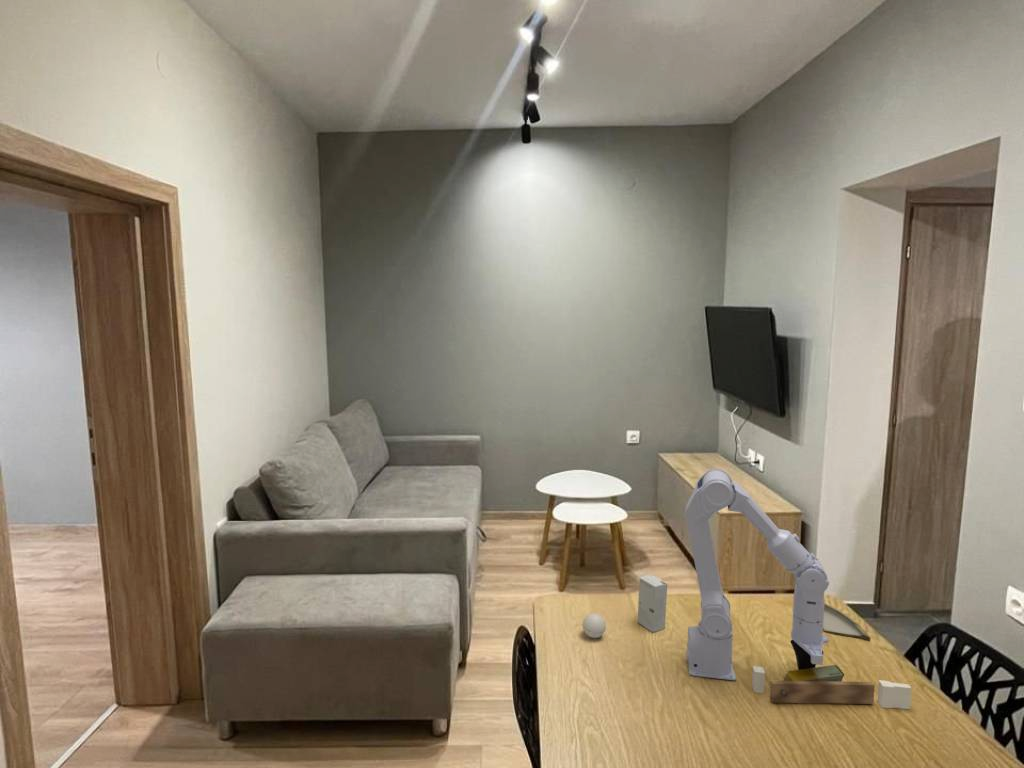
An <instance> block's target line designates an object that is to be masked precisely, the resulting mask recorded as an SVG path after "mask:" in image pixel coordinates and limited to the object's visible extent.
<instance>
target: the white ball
mask: <svg viewBox="0 0 1024 768" xmlns="http://www.w3.org/2000/svg"><path fill="white" fill-rule="evenodd" d="M577 626H579V624H577V625H575V627H577ZM606 628H607V626H606V621H605V619H604V617H603V616H601V614H599V613H596V612H595V613H594V612H593V613H589V614H587V615H586V616H585V617H584V618H583V621H582V629H583V632H584V633H585V635H587V636H588V637H589V638H591V639H598V638H601V636H603V635H604V634H605V631H606Z"/></svg>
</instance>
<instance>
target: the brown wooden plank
mask: <svg viewBox="0 0 1024 768" xmlns="http://www.w3.org/2000/svg"><path fill="white" fill-rule="evenodd" d="M875 686H876V685H875V684H874V683H873V682H872V681H843V680H842V681H784V680H770V691H769V692H770V693H769V700H770V701H771V703H790V704H791V703H797V704H798V703H799V704H800V703H801V704H802V703H803V704H804V703H805V704H855V705H856V704H861V705H862V704H863V705H864V704H866V705H867V704H868V705H869V704H870V705H871V704H872V705H873V704H874V701H875V699H874V697H875Z"/></svg>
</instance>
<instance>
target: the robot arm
mask: <svg viewBox="0 0 1024 768" xmlns="http://www.w3.org/2000/svg"><path fill="white" fill-rule="evenodd" d="M732 481H733V482H732ZM726 507H727V510H728V511H729V512H734V513H735V512H736V513H741V514H742V515H743V516H744V517H745V518H746V519H747V520H748V522H750V523H751V524H752V525H753V526H754V527H755V528H756V530H758V532H760V534H762V536H763V537H765V539H766V549H767V550H768V551H769V552H770V553H771V555H773V556H774V557H775V558H776V560H777V561H779V563H780V564H781V565H782V566H783V567H784V568H785V569H786V570H787V571H788V572H789V573H790V574H792V575H794V577H795V580H794V591H793V605H792V622H791V623H792V624H791V625H792V626H791V631H790V638H791V639H790V644H791V647H792V649H793V652H794V654H795V655H794V656H795V659H796V663H797V664H796V665H797V670H800V669H808V668H815V667H816V666H818V665H820V666H824V665H823V664H824V650H823V648H824V644H829V642H830V640H829V639H830V638H828V636H827V635H825V634H824V631H823V619H824V603H825V591H827V589H828V587H829V586H830V581H828V576H827V573H826V572H825V569H824V567H823V565H822V564H821V562H820V561H819V559H818V558H817V557H816V555H815V554H814V553H812V552H809V551H808V550H807V549H806V548H805V547H804V545H803V544H802V543H800V537H799V536H798V535H797V534H796V533H791V531H789V530H786V529H780V528H779V527H778V526H776V524H775V523H774V522H773V520H771V518H770V517H769V516H768V515H767V514H766V513H765V511H763V509H762V508H761V507H760V505H759V504H758V503H757V502H756V501H755V500H754V499H753V497H752V496H751V494H749V492H748V491H746V490H745V489H744V487H742V486H741V484H739V483H738V482H737V481H736V480H735V479H733V480H732V478H731V476H730V475H729V473H727V472H726V471H725V470H723V469H721V468H713V469H709V470H707V471H706V472H705V473H703V474H702V476H701V477H700V478H698V479H697V481H696V484H695V487H694V489H693V491H692V494H691V496H690V497H689V500H688V502H687V503H686V506H685V511H684V512H685V517H684V518H685V521H686V526H687V531H688V536H689V540H690V541H689V542H690V546H691V551H692V555H693V561H694V566H695V572H696V577H697V582H698V587H699V592H700V610H701V617H700V622H698V624H697V625H694V626H688V627H687V628H688V629H687V646H686V647H687V649H686V661H687V667H688V671H689V675H690V676H694V677H701V678H710V679H720V680H726V681H727V680H728V681H736V680H737V676H736V674H735V669H734V665H733V662H732V661H733V638H734V636H733V634H734V630H733V623H732V618H731V604H730V601H729V599H728V598H727V597H726V595H725V594H724V591H723V586H722V584H721V578H720V573H719V568H718V563H717V559H716V554H715V549H714V548H715V547H714V544H713V538H712V533H711V529H710V522H709V520H710V518H712V517H713V515H714V514H715V513H716V512H719V511H721V510H723V509H725V508H726Z"/></svg>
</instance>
